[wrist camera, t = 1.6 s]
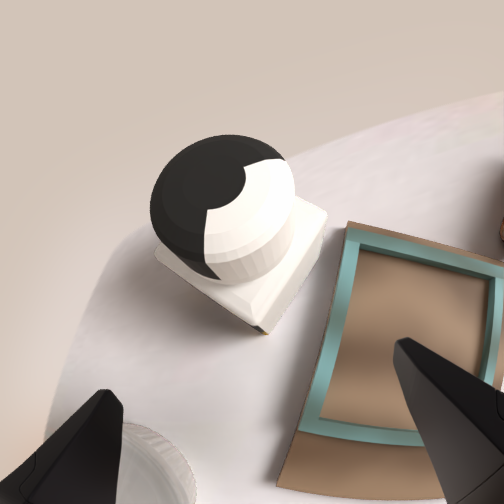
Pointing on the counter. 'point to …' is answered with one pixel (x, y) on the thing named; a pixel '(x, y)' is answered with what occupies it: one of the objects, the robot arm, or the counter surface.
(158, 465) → the ramekin
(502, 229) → the tin
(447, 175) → the counter surface
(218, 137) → the medicine bottle
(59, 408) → the counter surface
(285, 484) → the socket board
